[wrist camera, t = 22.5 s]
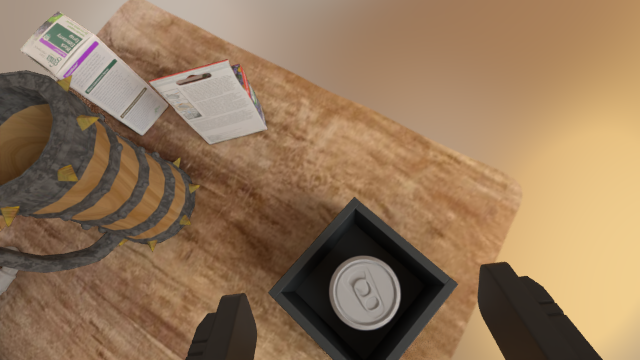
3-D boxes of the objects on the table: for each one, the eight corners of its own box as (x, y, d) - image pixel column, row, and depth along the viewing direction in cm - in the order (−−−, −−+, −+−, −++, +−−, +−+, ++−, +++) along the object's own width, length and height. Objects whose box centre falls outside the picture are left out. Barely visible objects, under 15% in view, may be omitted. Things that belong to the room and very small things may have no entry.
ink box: (205, 122, 46) (142, 51, 32) (263, 107, 46) (224, 28, 32) (209, 147, 45) (145, 84, 31) (268, 131, 45) (230, 60, 31)
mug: (224, 181, 43) (123, 97, 24) (142, 308, 39) (-55, 328, 20) (146, 138, 46) (1, 33, 27) (63, 253, 42) (-174, 225, 23)
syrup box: (170, 105, 47) (96, 29, 33) (142, 138, 46) (52, 75, 32) (141, 86, 49) (58, 6, 35) (113, 118, 47) (15, 49, 34)
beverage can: (368, 253, 38) (376, 239, 27) (397, 300, 37) (419, 306, 25) (325, 281, 38) (313, 278, 26) (352, 329, 36) (353, 348, 25)
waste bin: (435, 285, 37) (458, 284, 29) (365, 371, 35) (369, 397, 27) (354, 215, 40) (354, 196, 32) (285, 291, 38) (267, 292, 30)
